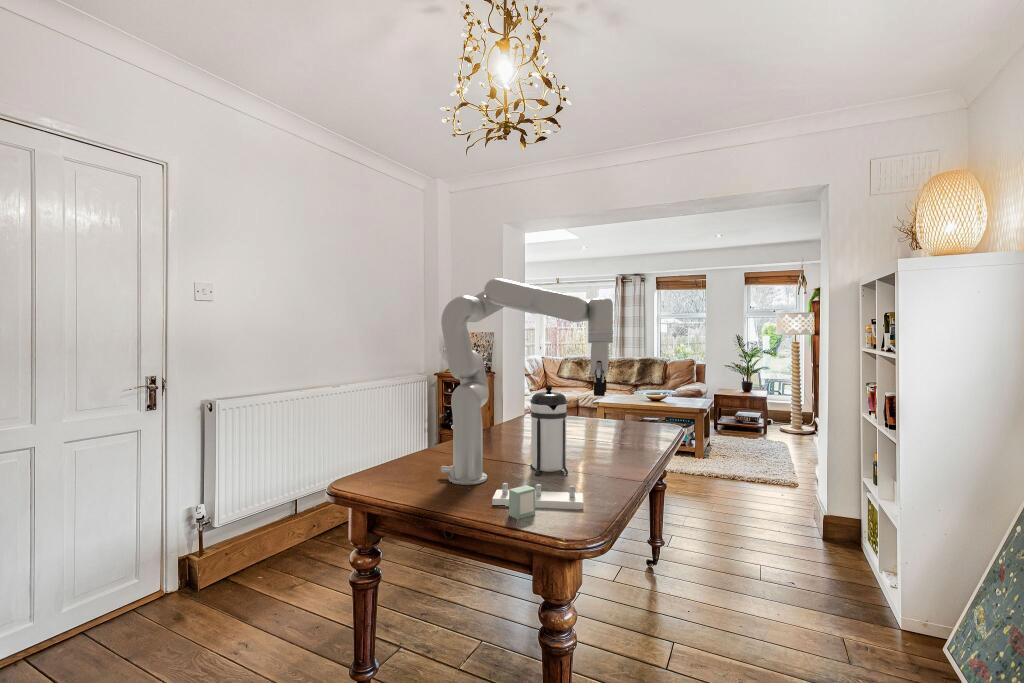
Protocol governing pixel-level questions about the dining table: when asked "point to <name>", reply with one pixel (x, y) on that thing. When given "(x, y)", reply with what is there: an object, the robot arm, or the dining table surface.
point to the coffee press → (548, 431)
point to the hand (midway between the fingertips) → (600, 393)
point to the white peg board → (544, 498)
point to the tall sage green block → (522, 501)
